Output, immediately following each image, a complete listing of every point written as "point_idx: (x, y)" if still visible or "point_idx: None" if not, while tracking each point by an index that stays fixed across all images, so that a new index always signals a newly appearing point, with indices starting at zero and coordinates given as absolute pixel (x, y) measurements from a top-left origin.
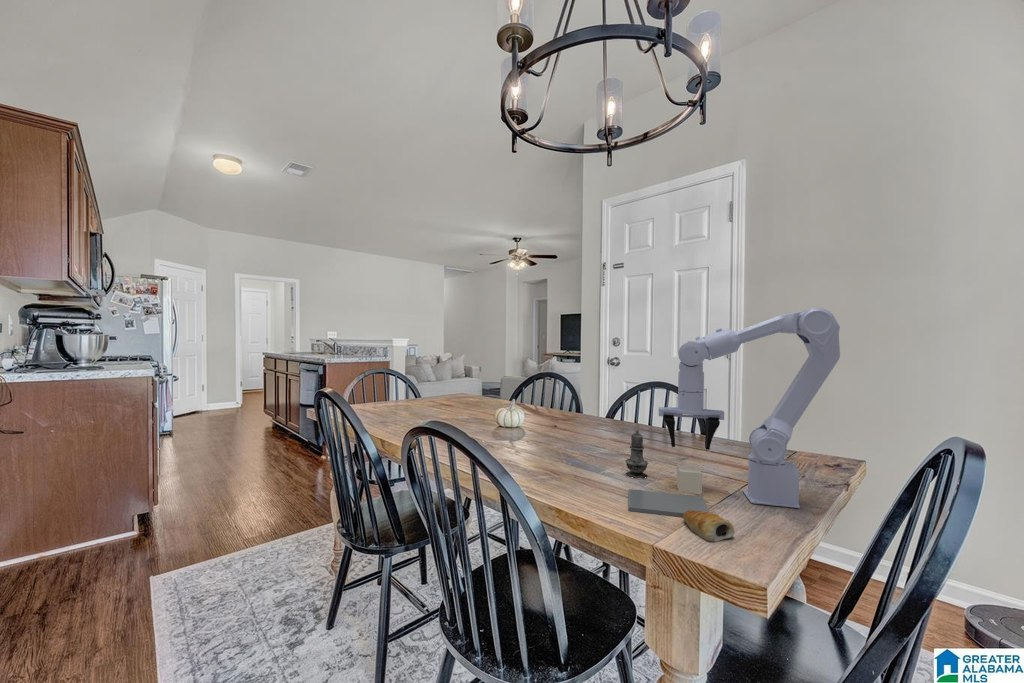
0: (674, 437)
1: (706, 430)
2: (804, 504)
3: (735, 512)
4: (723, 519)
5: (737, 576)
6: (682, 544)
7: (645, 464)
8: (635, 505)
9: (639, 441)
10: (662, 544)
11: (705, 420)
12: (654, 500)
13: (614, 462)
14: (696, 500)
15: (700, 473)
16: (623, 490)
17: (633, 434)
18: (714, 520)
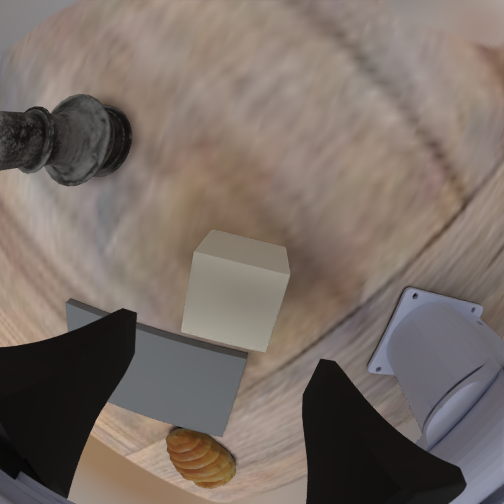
0: (107, 400)
1: (340, 454)
2: None
3: (294, 407)
4: (220, 478)
5: (202, 497)
6: (157, 464)
7: (92, 174)
8: None
9: (8, 167)
10: (133, 459)
11: (389, 485)
12: None
13: (76, 22)
14: (219, 381)
15: (259, 349)
16: (60, 283)
17: None
18: (201, 482)
